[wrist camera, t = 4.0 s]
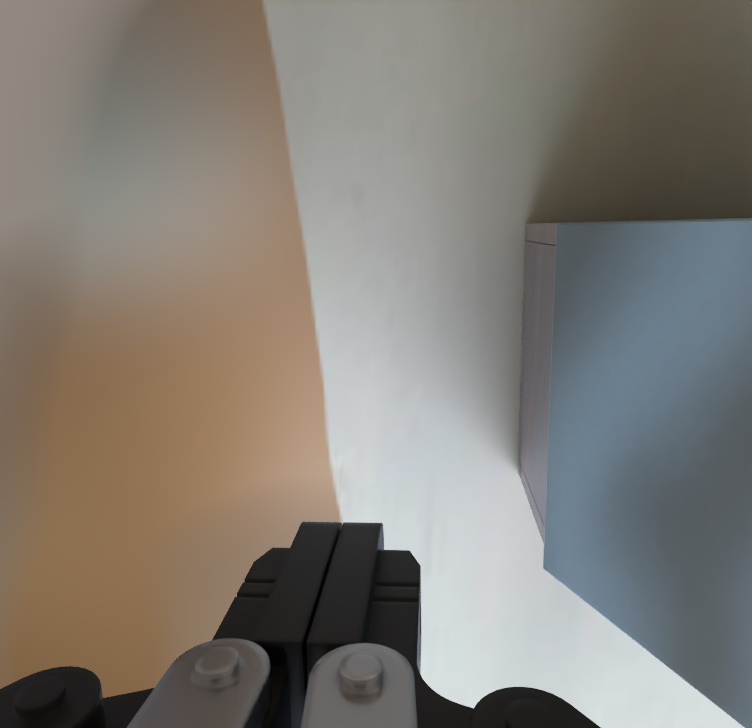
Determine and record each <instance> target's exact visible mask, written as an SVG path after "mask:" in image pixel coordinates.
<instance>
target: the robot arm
mask: <svg viewBox="0 0 752 728" xmlns="http://www.w3.org/2000/svg"><path fill="white" fill-rule="evenodd" d="M420 662H421V576H420V565H419V563H418V562H417V561H416V559H415V558H414V556H413V555H412V554H411V552H410V551H401V550H384V536H383V525H382V523H343V525H342V523H337V522H331V523H330V522H302V523H301V525H300V527H299V530H298V532H297V534H296V536H295V538H294V541H293V543H292V545H291V548H272V549H270V550H269V551H268V552H266V553H265V554H264V555H263V556H261V557H260V558H259V559H257V560H256V561H255V562H254V563H253V565H252V567H251V568H250V570H249V572H248V574H247V576H246V578H245V583H243V584H242V585H241V587H240V589H239V591H238V593H237V597H235V598H234V600H233V602H232V604H231V606H230V608H229V610H228V612H227V614H226V615H225V617H224V619H223V621H222V623H221V625H220V626H219V629H218V630H217V632H216V634H215V636H214V638H213V640H212V641H209V642H205V643H202V644H200V645H197V646H195V647H193V648H191V649H190V650H188V651H186V652H185V653H183V654H182V655H181V656H179V657H178V658H177V659H176V660H175V661H174V662H173V663H172V665H171V666H170V667H169V669H168V670H167V671H166V673H165V674H164V675H163V677H162V678H161V680H160V681H159V683H158V684H157V685H156V687H155V688H151V689H147V690H143V691H138V692H133V693H128V694H122V695H117V696H113V697H107V698H103V697H102V690H101V684H100V680H99V678H98V677H97V676H96V675H95V674H94V673H93V672H92V671H89V670H87V669H84V668H80V667H71V666H70V667H58V668H51V669H48V670H43V671H40V672H37V673H34V674H32V675H29V676H27V677H24V678H22V679H20V680H18V681H16V682H14V683H12V684H10V685H8V686H6V687H4V688H2V689H0V728H600V727H599V726H598V725H596V724H595V723H594V722H592V721H591V720H590V719H589V718H587V717H586V716H585V715H583V714H582V713H581V712H579V711H578V710H577V709H575V708H574V707H573V706H572V705H570V704H569V703H567V702H566V701H564V700H563V699H561V698H559V697H557V696H555V695H553V694H551V693H548V692H545V691H543V690H538V689H534V688H527V687H510V688H504V689H500V690H496V691H494V692H492V693H490V694H488V695H486V696H485V697H484V698H482V699H481V700H480V701H479V702H478V703H477V705H476V706H475V708H474V709H473V708H470V707H467V706H463V705H460V704H457V703H455V702H452V701H450V700H448V699H446V698H444V697H442V696H440V695H439V694H437V693H436V692H434V691H433V690H432V689H431V688H430V687H429V686H428V685H427V684H426V683H425V681H424V680H423V679H422V677H421V675H420Z"/></svg>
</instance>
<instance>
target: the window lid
mask: <svg viewBox="0 0 752 728" xmlns="http://www.w3.org/2000/svg"><path fill="white" fill-rule="evenodd" d="M543 568H544V570H546V571H547V572H548V573H550V574H551V575H552V576H553V577H555V578H556V579H557V580H558V581H560V582H561V583H562V584H563V585H565V586H566V587H567V588H569V589H570V590H571V591H572V592H574V593H575V594H576V595H577V596H579V597H580V598H581V599H583V600H584V601H585V602H586V603H588V604H589V605H590V606H591V607H593V608H594V609H595V610H596V611H598V612H599V613H600V614H602V615H603V616H604V617H605V618H607V619H608V620H609V621H610V622H612V623H613V624H614V625H615V626H617V627H618V628H619V629H621V630H622V631H623V632H624V633H626V634H627V635H628V636H629V637H631V638H632V639H633V640H634V641H636V642H637V643H638V644H640V645H641V646H642V647H643V648H645V649H646V650H647V651H648V652H650V653H651V654H652V655H653V656H655V657H656V658H657V659H659V660H660V661H661V662H662V663H664V664H665V665H666V666H667V667H669V668H670V669H671V670H672V671H674V672H675V673H676V674H678V675H679V676H680V677H681V678H683V679H684V680H685V681H686V682H688V683H689V684H690V685H691V686H693V687H694V688H695V689H697V690H698V691H699V692H700V693H702V694H703V695H704V696H705V697H707V698H708V699H709V700H711V701H712V702H713V703H714V704H716V705H717V706H718V707H719V708H721V709H722V710H723V711H724V712H726V713H727V714H728V715H730V716H731V717H732V718H733V719H735V720H736V721H737V722H738V723H740V724H741V725H742V726H743V727H745V728H752V218H733V219H691V220H650V221H608V222H567V223H557V225H556V246H555V272H554V298H553V324H552V351H551V377H550V403H549V430H548V456H547V482H546V508H545V535H544V561H543Z"/></svg>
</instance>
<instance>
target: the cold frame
mask: <svg viewBox="0 0 752 728" xmlns="http://www.w3.org/2000/svg"><path fill="white" fill-rule="evenodd" d="M556 225H557V223H532V224H525V244H524V280H523V316H522V352H521V388H520V424H519V460H518V473H519V476H520V478H521V481H522V484H523V486H524V489H525V492H526V495H527V498H528V501H529V503H530V506H531V509H532V512H533V515H534V517H535V520H536V523H537V526H538V529H539V531H540V534H541V537H542V540H543V543H544V535H545V508H546V482H547V456H548V430H549V403H550V377H551V351H552V324H553V298H554V272H555V246H556Z"/></svg>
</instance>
